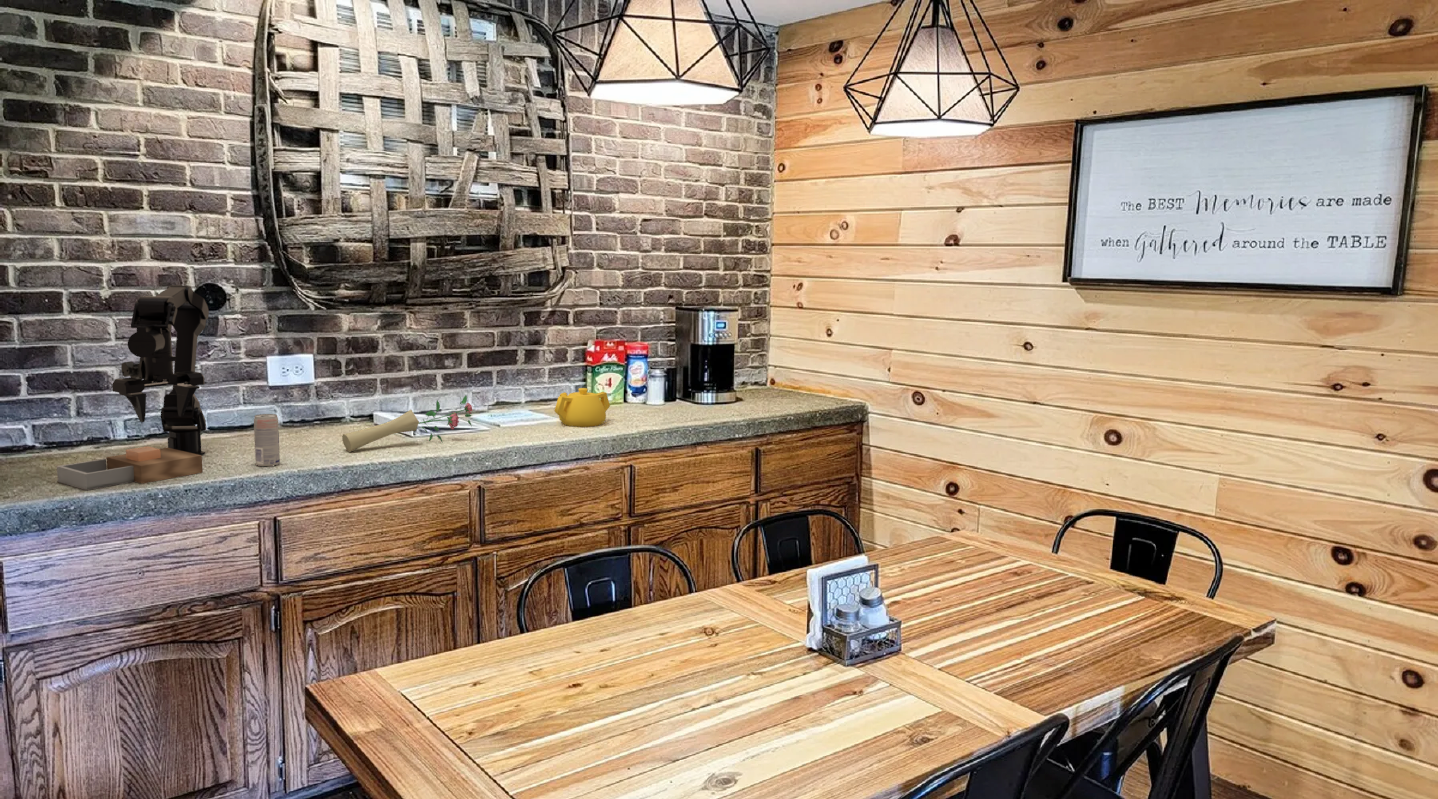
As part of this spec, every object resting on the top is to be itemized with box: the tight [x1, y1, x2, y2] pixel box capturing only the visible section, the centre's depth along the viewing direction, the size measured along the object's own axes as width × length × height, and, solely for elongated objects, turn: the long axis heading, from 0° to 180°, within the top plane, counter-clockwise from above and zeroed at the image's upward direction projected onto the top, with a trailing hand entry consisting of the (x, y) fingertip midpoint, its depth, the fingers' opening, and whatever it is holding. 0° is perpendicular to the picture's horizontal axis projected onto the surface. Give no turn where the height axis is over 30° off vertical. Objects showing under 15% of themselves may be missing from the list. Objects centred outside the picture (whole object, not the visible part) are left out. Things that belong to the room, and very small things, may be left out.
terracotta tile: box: [125, 445, 161, 461], centre depth 228 cm, size 5×5×2 cm
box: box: [56, 458, 135, 491], centre depth 221 cm, size 10×12×4 cm
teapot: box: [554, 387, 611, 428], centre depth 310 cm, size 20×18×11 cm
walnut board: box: [105, 446, 204, 484], centre depth 230 cm, size 14×14×4 cm
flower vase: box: [341, 395, 473, 453], centre depth 270 cm, size 12×12×35 cm
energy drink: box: [253, 413, 281, 467], centre depth 242 cm, size 5×5×12 cm
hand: (161, 418), depth 232 cm, fingers open, 9 cm apart
